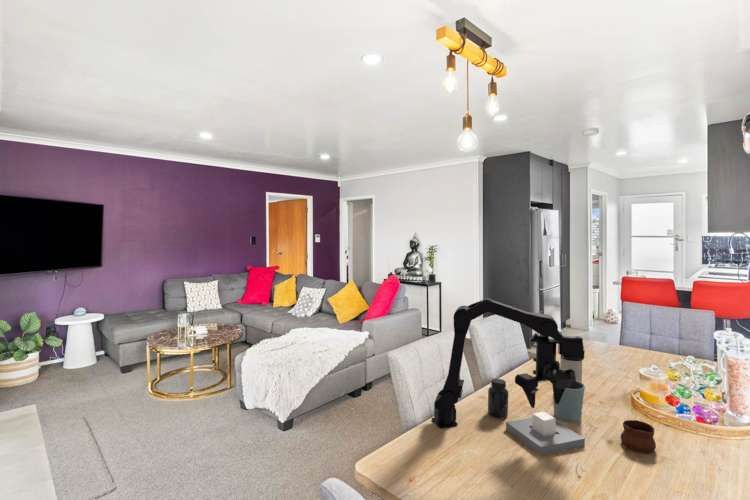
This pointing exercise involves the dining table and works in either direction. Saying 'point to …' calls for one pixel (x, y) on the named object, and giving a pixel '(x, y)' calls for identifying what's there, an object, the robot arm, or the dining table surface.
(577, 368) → the travel mug
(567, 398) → the teal cup
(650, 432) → the ceramic pot
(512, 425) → the socket
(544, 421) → the plug
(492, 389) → the supplement bottle
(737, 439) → the dining table surface
